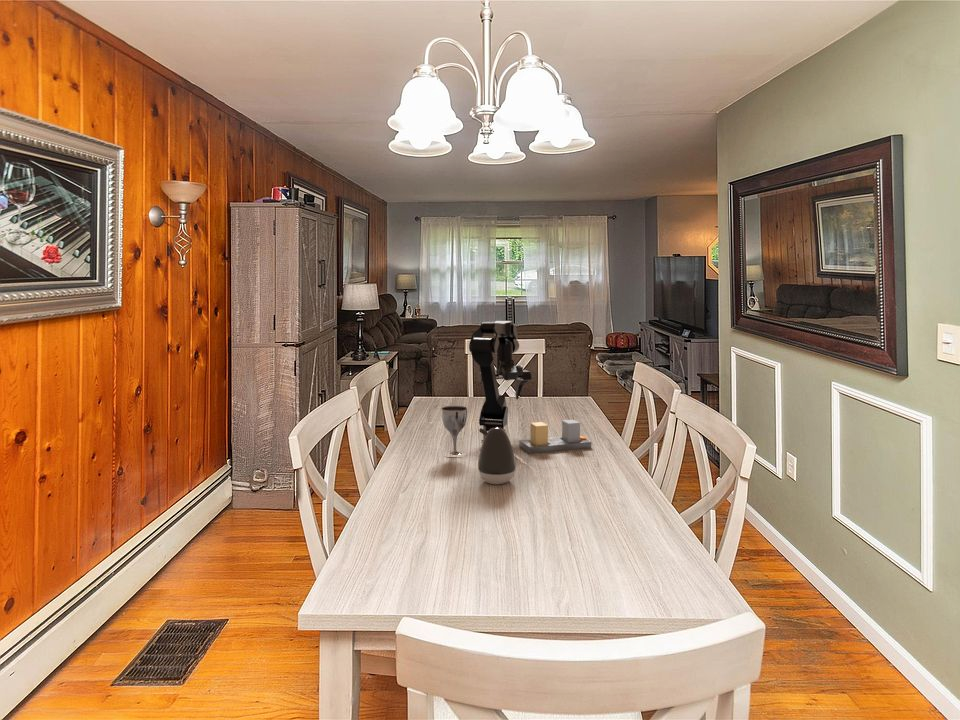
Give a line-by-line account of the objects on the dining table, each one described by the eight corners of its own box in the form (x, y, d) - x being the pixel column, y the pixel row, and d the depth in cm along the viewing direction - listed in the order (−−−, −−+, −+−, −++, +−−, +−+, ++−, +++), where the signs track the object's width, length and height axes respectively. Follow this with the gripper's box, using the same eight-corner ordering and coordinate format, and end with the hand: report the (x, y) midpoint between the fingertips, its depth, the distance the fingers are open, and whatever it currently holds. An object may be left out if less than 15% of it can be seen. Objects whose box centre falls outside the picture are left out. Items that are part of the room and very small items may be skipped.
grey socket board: (529, 456, 207) (529, 445, 206) (519, 449, 216) (519, 438, 215) (591, 451, 213) (591, 440, 212) (578, 443, 222) (578, 433, 221)
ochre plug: (536, 451, 210) (536, 426, 209) (530, 447, 214) (530, 422, 213) (547, 450, 211) (547, 425, 210) (542, 446, 216) (542, 421, 214)
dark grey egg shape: (489, 474, 190) (488, 421, 188) (521, 479, 184) (521, 425, 182) (470, 483, 181) (470, 429, 179) (504, 489, 176) (504, 433, 174)
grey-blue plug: (568, 448, 213) (568, 423, 212) (562, 444, 217) (562, 420, 216) (579, 447, 214) (580, 422, 213) (573, 443, 219) (573, 419, 218)
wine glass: (455, 450, 216) (455, 404, 214) (472, 454, 210) (472, 407, 208) (437, 455, 210) (436, 408, 208) (454, 459, 204) (453, 411, 202)
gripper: (485, 360, 224) (486, 406, 226) (537, 358, 229) (537, 402, 231) (476, 356, 234) (477, 400, 236) (526, 354, 240) (526, 396, 242)
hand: (504, 400), depth 236 cm, fingers open, 9 cm apart
